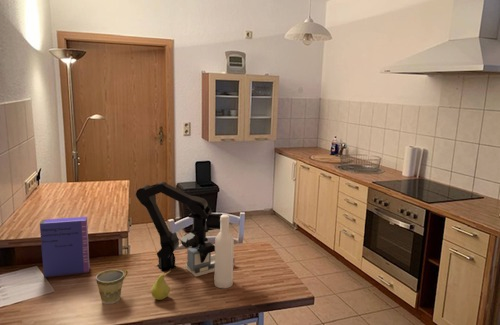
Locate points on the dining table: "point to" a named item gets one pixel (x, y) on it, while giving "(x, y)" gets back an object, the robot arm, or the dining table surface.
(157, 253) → the robot arm
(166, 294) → the fruit
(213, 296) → the dining table surface
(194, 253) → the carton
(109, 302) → the ceramic cup
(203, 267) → the shelf
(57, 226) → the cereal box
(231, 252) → the bottle
